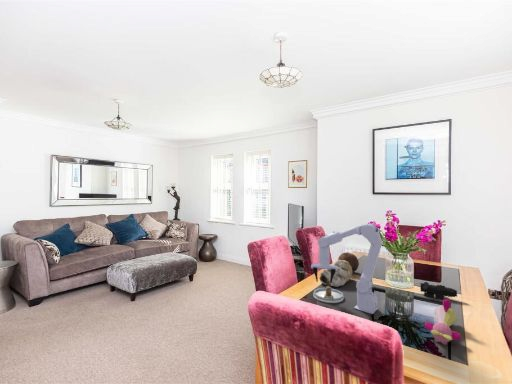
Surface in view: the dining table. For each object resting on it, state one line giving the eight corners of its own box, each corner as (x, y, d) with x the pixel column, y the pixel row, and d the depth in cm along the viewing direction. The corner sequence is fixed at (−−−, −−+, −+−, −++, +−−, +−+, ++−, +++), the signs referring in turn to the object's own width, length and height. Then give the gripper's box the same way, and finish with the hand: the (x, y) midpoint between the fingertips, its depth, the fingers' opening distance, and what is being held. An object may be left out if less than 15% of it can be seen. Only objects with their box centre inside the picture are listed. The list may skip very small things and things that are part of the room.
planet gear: (334, 298, 148) (334, 287, 148) (330, 300, 144) (330, 289, 144) (326, 295, 151) (326, 285, 151) (322, 298, 147) (322, 287, 147)
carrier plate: (348, 296, 152) (348, 290, 152) (335, 305, 140) (335, 299, 140) (322, 289, 164) (322, 283, 164) (307, 297, 152) (307, 291, 152)
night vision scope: (457, 304, 147) (457, 297, 141) (419, 297, 158) (418, 291, 152) (456, 291, 152) (456, 283, 145) (420, 285, 162) (418, 278, 156)
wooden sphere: (362, 272, 197) (362, 252, 197) (352, 277, 187) (352, 256, 187) (343, 268, 208) (344, 249, 208) (333, 272, 198) (333, 252, 198)
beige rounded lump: (314, 280, 178) (340, 266, 191) (329, 298, 169) (356, 282, 182) (321, 265, 169) (348, 252, 182) (337, 283, 159) (365, 268, 173)
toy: (429, 314, 129) (420, 343, 106) (432, 290, 128) (424, 314, 105) (461, 325, 121) (459, 359, 98) (465, 299, 120) (463, 328, 97)
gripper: (337, 256, 152) (336, 280, 152) (311, 255, 155) (310, 278, 155) (338, 260, 145) (337, 284, 145) (311, 258, 148) (310, 282, 148)
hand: (323, 281), depth 149 cm, fingers open, 7 cm apart
